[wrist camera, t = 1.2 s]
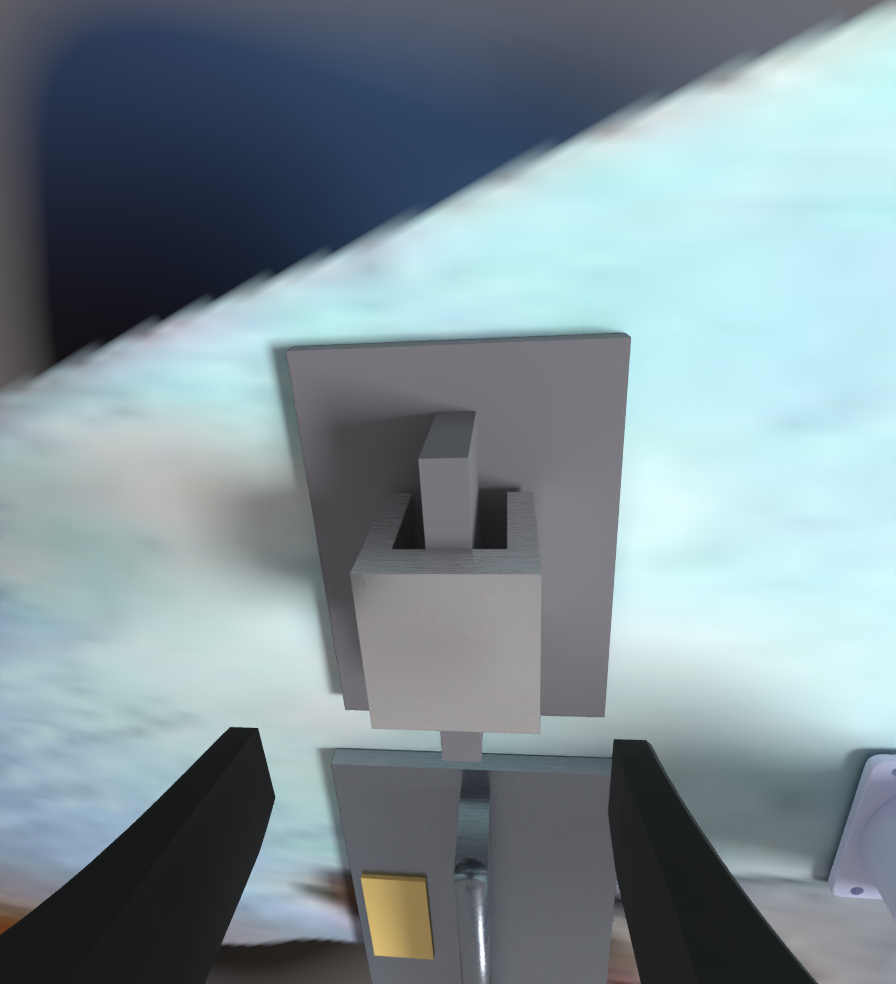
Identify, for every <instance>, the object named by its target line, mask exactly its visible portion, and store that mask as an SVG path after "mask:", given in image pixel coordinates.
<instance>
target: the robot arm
mask: <svg viewBox="0 0 896 984" xmlns="http://www.w3.org/2000/svg"><path fill="white" fill-rule="evenodd" d="M274 801H275V794H274V790H273V786H272V782H271V778H270V774H269V770H268V766H267V762H266V758H265V754H264V750H263V746H262V742H261V738H260V734H259V730H258V728H242V727H230V728H229V729H228V730H227V731H226V732H225V733H224V734H223V735H222V736H221V737H220V738H219V739H218V740H217V741H216V742H215V743H214V744H213V745H212V746H211V747H210V748H209V749H208V750H207V751H206V752H205V753H204V754H203V755H202V756H201V757H200V758H199V759H198V760H197V761H196V762H195V763H194V764H193V765H192V766H191V767H190V768H189V769H188V770H187V771H186V772H185V773H184V774H183V775H182V776H181V777H180V778H179V779H178V780H177V781H176V782H175V783H174V784H173V785H172V786H171V787H170V788H169V789H168V790H167V791H166V792H165V793H164V794H163V795H162V796H161V797H160V798H159V799H158V800H157V801H156V802H155V803H154V804H153V805H152V806H151V807H150V808H149V809H148V810H147V811H146V812H145V813H144V814H143V815H142V816H141V817H139V818H138V819H137V820H136V821H135V822H134V823H133V824H132V825H131V826H130V827H129V828H128V829H127V830H126V831H125V832H123V833H122V834H121V835H120V836H119V837H118V838H117V839H116V840H115V841H114V842H113V843H111V844H110V845H109V846H108V847H107V848H106V849H105V850H104V851H103V852H102V853H100V854H99V855H98V856H97V857H96V858H95V859H94V860H93V861H92V862H91V863H89V864H88V865H87V866H86V867H85V868H84V869H83V870H81V871H80V872H79V873H78V874H77V875H76V876H74V877H73V878H72V879H71V880H70V881H69V882H67V883H66V884H65V885H64V886H63V887H61V888H60V889H59V890H58V891H56V892H55V893H54V894H53V895H51V896H50V897H49V898H48V899H46V900H45V901H44V902H43V903H42V904H40V905H39V906H38V907H37V908H35V909H34V910H33V911H32V912H30V913H29V914H28V915H26V916H25V917H24V918H23V919H21V920H20V921H19V922H17V923H16V924H15V925H13V926H12V927H11V928H9V929H8V930H6V931H5V932H4V933H2V934H1V935H0V984H205V981H206V979H207V976H208V974H209V972H210V969H211V967H212V965H213V962H214V960H215V957H216V955H217V953H218V950H219V948H220V946H221V943H222V941H223V938H224V936H225V934H226V931H227V929H228V926H229V924H230V922H231V919H232V917H233V915H234V912H235V910H236V907H237V905H238V903H239V900H240V898H241V896H242V893H243V891H244V888H245V886H246V883H247V881H248V879H249V876H250V874H251V871H252V869H253V867H254V864H255V862H256V859H257V857H258V854H259V852H260V849H261V845H262V842H263V839H264V836H265V832H266V829H267V826H268V822H269V819H270V815H271V811H272V808H273V804H274ZM608 818H609V826H610V834H611V842H612V849H613V857H614V864H615V871H616V876H617V880H618V885H619V889H620V893H621V898H622V902H623V907H624V911H625V916H626V920H627V924H628V929H629V933H630V937H631V942H632V946H633V950H634V955H635V959H636V963H637V968H638V972H639V977H640V981H641V984H818V983H817V982H816V981H815V980H814V978H813V977H812V976H811V975H810V974H809V973H808V971H807V970H806V969H805V968H804V967H803V965H802V964H801V963H800V962H799V961H798V959H797V958H796V957H795V956H794V955H793V953H792V952H791V951H790V950H789V948H788V947H787V946H786V945H785V944H784V942H783V941H782V940H781V939H780V937H779V936H778V935H777V934H776V932H775V931H774V930H773V929H772V927H771V926H770V925H769V923H768V922H767V921H766V920H765V918H764V917H763V916H762V914H761V913H760V912H759V910H758V909H757V908H756V907H755V905H754V904H753V903H752V901H751V900H750V898H749V897H748V896H747V894H746V893H745V892H744V890H743V889H742V888H741V886H740V885H739V884H738V882H737V881H736V879H735V878H734V877H733V875H732V874H731V872H730V871H729V870H728V868H727V867H726V865H725V864H724V863H723V861H722V860H721V858H720V857H719V855H718V854H717V852H716V851H715V849H714V848H713V846H712V845H711V843H710V842H709V840H708V839H707V837H706V836H705V834H704V833H703V831H702V830H701V828H700V827H699V825H698V824H697V822H696V821H695V819H694V818H693V816H692V815H691V813H690V811H689V810H688V808H687V807H686V805H685V803H684V802H683V800H682V799H681V797H680V795H679V794H678V792H677V790H676V789H675V787H674V785H673V784H672V782H671V780H670V778H669V777H668V775H667V773H666V771H665V770H664V768H663V766H662V764H661V762H660V761H659V759H658V757H657V755H656V753H655V751H654V749H653V747H652V745H651V744H650V743H649V742H647V741H646V740H622V739H614V742H613V754H612V767H611V779H610V792H609V804H608ZM828 886H829V888H830V890H831V892H832V893H833V894H834V895H836V896H840V897H852V898H869V899H883V900H884V902H885V904H886V906H887V907H888V909H889V911H890V913H891V915H892V916H893V918H894V920H895V922H896V755H890V754H879V755H874V756H872V757H870V758H869V759H868V760H867V762H866V763H865V766H864V770H863V773H862V776H861V779H860V782H859V785H858V788H857V791H856V794H855V798H854V801H853V804H852V807H851V810H850V813H849V816H848V819H847V822H846V826H845V829H844V832H843V835H842V838H841V841H840V844H839V847H838V850H837V854H836V857H835V860H834V863H833V866H832V869H831V872H830V875H829V879H828Z"/></svg>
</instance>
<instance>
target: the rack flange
mask: <svg viewBox="0 0 896 984" xmlns="http://www.w3.org/2000/svg"><path fill="white" fill-rule="evenodd" d="M331 767H332V772H333V778H334V783H335V788H336V794H337V799H338V805H339V810H340V815H341V821H342V826H343V831H344V837H345V842H346V847H347V853H348V858H349V863H350V869H351V874H352V879H353V885H354V890H355V895H356V901H357V906H358V911H359V917H360V922H361V927H362V933H363V938H364V943H365V949H366V954H367V960H368V965H369V970H370V975H371V980H372V984H607V973H608V963H609V952H610V942H611V931H612V921H613V910H614V900H615V889H616V879H617V876H616V871H615V864H614V857H613V849H612V842H611V834H610V826H609V818H608V804H609V792H610V779H611V767H612V759H611V758H583V757H555V756H527V755H499V754H482V759H481V762H463V761H443V759H442V752H416V751H388V750H360V749H336V750H335V753H334V756H333V759H332V762H331Z"/></svg>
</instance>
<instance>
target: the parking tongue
mask: <svg viewBox="0 0 896 984" xmlns="http://www.w3.org/2000/svg"><path fill="white" fill-rule="evenodd" d="M630 344H631V337H630V336H629V335H628V334H626V333H612V334H587V335H563V336H538V337H514V338H489V339H465V340H440V341H416V342H391V343H367V344H342V345H318V346H295V347H293V348H291V349H289V350H287V351H286V354H287V360H288V366H289V372H290V378H291V384H292V390H293V396H294V402H295V408H296V414H297V420H298V427H299V433H300V439H301V445H302V451H303V457H304V463H305V469H306V475H307V481H308V487H309V493H310V499H311V505H312V511H313V517H314V523H315V530H316V536H317V542H318V548H319V554H320V560H321V566H322V572H323V578H324V584H325V590H326V596H327V602H328V608H329V614H330V620H331V627H332V633H333V639H334V645H335V651H336V657H337V663H338V669H339V675H340V681H341V687H342V693H343V699H344V705H345V710H367V711H370V710H369V703H368V696H367V689H366V682H365V675H364V668H363V661H362V654H361V647H360V640H359V633H358V626H357V619H356V612H355V605H354V598H353V591H352V584H351V577H350V573H351V571H352V569H353V566H354V564H355V562H356V560H357V558H358V556H359V553H360V551H361V549H362V547H363V545H364V543H365V540H366V538H367V536H368V534H369V532H370V530H371V527H372V525H373V523H374V521H375V519H376V517H377V514H378V512H379V510H380V508H381V506H382V504H383V501H384V499H385V497H386V495H387V493H412V498H413V509H414V521H415V532H416V544H417V549H507V492H533V493H534V503H535V513H536V523H537V533H538V543H539V553H540V564H541V574H542V582H541V671H540V715H543V716H578V717H604V716H605V702H606V687H607V673H608V659H609V644H610V630H611V616H612V601H613V587H614V573H615V559H616V544H617V530H618V516H619V501H620V487H621V473H622V458H623V444H624V430H625V416H626V401H627V387H628V373H629V358H630ZM440 734H441V746H442V759H443V761H463V762H481V759H482V739H483V732H465V731H440Z"/></svg>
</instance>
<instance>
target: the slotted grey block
mask: <svg viewBox="0 0 896 984" xmlns="http://www.w3.org/2000/svg"><path fill="white" fill-rule="evenodd" d="M350 577H351V584H352V591H353V598H354V605H355V612H356V619H357V626H358V633H359V640H360V647H361V654H362V661H363V668H364V675H365V682H366V689H367V696H368V703H369V710H370V717H371V724H372V729H403V730H434V731H465V732H497V733H528V734H540V671H541V582H542V574H541V564H540V553H539V543H538V533H537V523H536V513H535V503H534V493H533V492H507V549H417V544H416V532H415V521H414V509H413V498H412V493H387V495H386V497H385V499H384V501H383V504H382V506H381V508H380V510H379V512H378V514H377V517H376V519H375V521H374V523H373V525H372V527H371V530H370V532H369V534H368V536H367V538H366V540H365V543H364V545H363V547H362V549H361V551H360V553H359V556H358V558H357V560H356V562H355V564H354V566H353V569H352V571H351V573H350Z"/></svg>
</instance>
